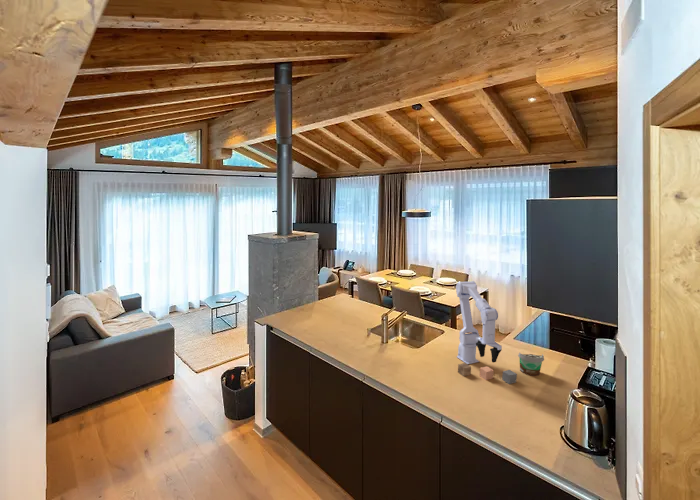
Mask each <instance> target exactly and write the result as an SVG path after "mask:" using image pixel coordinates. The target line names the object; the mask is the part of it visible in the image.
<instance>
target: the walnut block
mask: <svg viewBox="0 0 700 500" xmlns="http://www.w3.org/2000/svg"><path fill="white" fill-rule="evenodd" d="M457 373H458V374H460V375H461V376H462V377H467V376H471V375H472V374H471V373H472V366H470V364H466V363H465V362H462V363H458V365H457Z"/></svg>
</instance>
